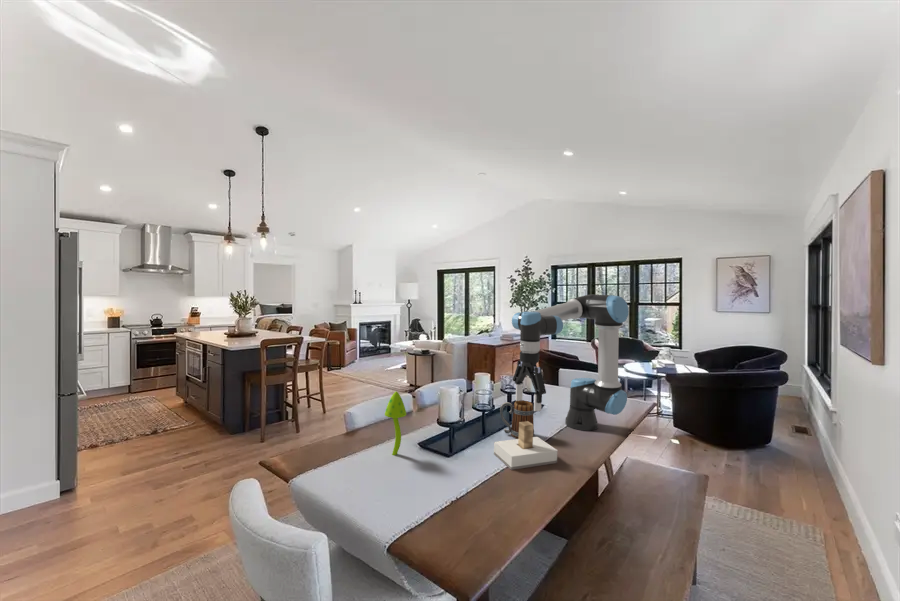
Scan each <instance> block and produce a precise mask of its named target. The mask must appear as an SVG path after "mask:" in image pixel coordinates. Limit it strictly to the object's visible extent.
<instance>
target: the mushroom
mask: <svg viewBox="0 0 900 601" xmlns="http://www.w3.org/2000/svg"><path fill="white" fill-rule="evenodd" d="M384 416H385V417H387V418H390V419H391V418H392V421H393V426H394V432H395V434H394V436H395V439H394V446H393V450H392V453H391V455H392V456H397V455H398V452H399V450H400V447H401V445H402V444H401V442H402V431H401V426H400V422H399V418H404V417H406V416H407V409H406V406H405V404H404V401H403V399H402V397H401V395H400V393H399V392H398V391H395V392H393V394H392V395H391V396H390V398H389V401H388V403H387V405H386V409H385V411H384Z"/></svg>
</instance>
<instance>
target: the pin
mask: <svg viewBox="0 0 900 601" xmlns="http://www.w3.org/2000/svg"><path fill="white" fill-rule="evenodd" d="M518 446H519V447H521V448H522V449H530V448H532V446H533V424H532V423H530V422H528V421H526V422H519V438H518Z"/></svg>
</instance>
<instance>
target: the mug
mask: <svg viewBox="0 0 900 601" xmlns="http://www.w3.org/2000/svg"><path fill="white" fill-rule="evenodd" d="M505 406H510V411H509V414H510V415H511V414H512V419H511V424H510V423H509V422H508V421H507V420H506V419H505V417H504V414H503V409H504V408H505ZM534 412H535V411H534V403H533V402H531V401H528V400H519V401H516V400H515V401H514V404H512V403H511V402H508V401H506V402H505V401H504V402H503V403H502V404H501V406H500V409H499V414H500V418H501V420H502V422H503V423H504V424H505V425H506V426H507V428H503V430H504V433H505V434H507V435H508V434H510V436H511V437H512V438H514V439H518V438H519V422H526V421H528V422H530V423H532V424H533V437H535V429H534V426H535V425H534Z"/></svg>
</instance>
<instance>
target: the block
mask: <svg viewBox="0 0 900 601" xmlns="http://www.w3.org/2000/svg"><path fill="white" fill-rule="evenodd" d="M493 455H494V456H495V457H496V458H498V460H500V461H501V462H502V463H503V464H504V465H505V466H506V467H507V468H509V469H510V470H511V471H512V470H520V469H524V468H532V467H533V468H534V467H540V466H546V465H552V464H558V449H557V448H555V447H553V446H552V445H550V444H549V443H548V442H546V441H544V440H543V439H542V438H540V437H539V436H534V437H533V446H532V448H530V449H522V448H521V447H519V446H518V439H516V438H514V439H506V440H500V441H494V444H493Z"/></svg>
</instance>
